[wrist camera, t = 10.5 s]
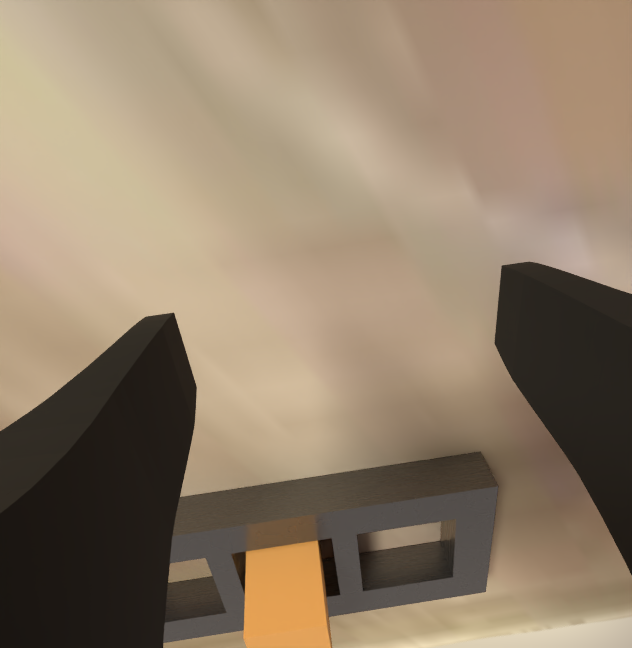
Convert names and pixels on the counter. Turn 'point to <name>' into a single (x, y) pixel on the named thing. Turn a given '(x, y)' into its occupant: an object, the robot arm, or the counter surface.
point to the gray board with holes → (337, 539)
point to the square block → (286, 598)
